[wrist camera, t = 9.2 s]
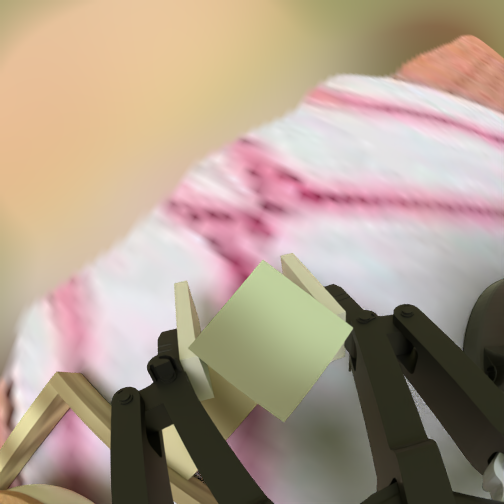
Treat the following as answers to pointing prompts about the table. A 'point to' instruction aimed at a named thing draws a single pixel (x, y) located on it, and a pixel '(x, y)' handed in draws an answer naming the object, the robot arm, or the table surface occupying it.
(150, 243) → the table surface
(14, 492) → the lidded jar
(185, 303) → the robot arm
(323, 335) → the pull frame
